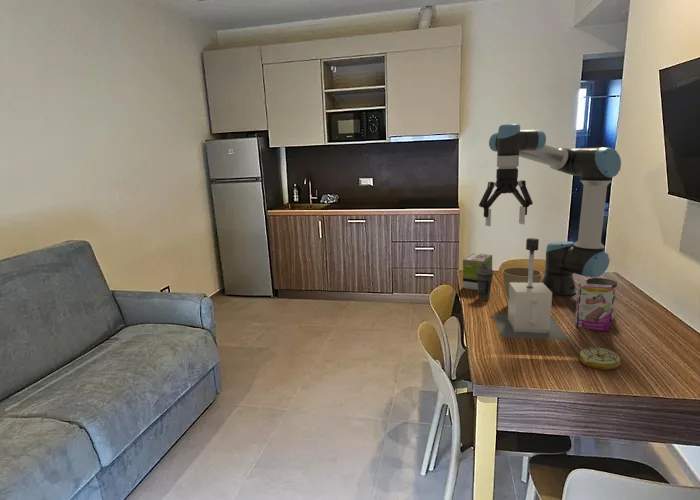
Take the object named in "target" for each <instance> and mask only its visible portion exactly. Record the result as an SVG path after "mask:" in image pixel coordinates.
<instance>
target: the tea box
mask: <svg viewBox="0 0 700 500" xmlns="http://www.w3.org/2000/svg"><path fill="white" fill-rule="evenodd" d="M485 256H486V265H488V266H490V267H491V268H492V269H493V254H483V253H475V252H473V253H472V254H470V255H469V256H467V257H465V258H464V259H463V260H462V288H463V289H469V290H475V291H478V280H477V274H476V273H477V269H478V268H479V267H480V266H481V265H485ZM492 283H493V280H492V281H491V284H492Z"/></svg>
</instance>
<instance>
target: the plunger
mask: <svg viewBox="0 0 700 500" xmlns="http://www.w3.org/2000/svg"><path fill="white" fill-rule="evenodd" d="M539 242H540V240H539V238H531V237H530V238H526V242H525V243H526V244H525V250H527V251H529V254H528V268H529V270H528V288H532V284H533V269H534V264H535V251H538V250H539Z"/></svg>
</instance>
